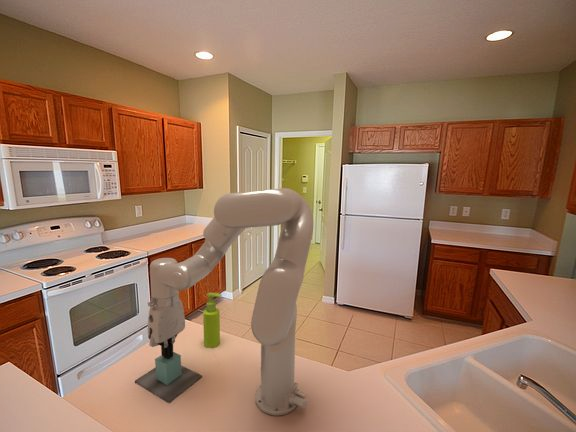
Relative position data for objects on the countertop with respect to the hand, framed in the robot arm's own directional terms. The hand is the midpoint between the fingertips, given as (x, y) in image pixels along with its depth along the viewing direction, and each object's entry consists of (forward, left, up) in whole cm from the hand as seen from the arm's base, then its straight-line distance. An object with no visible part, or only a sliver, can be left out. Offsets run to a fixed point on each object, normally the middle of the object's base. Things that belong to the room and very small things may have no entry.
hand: (167, 356), depth 84 cm
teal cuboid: (0, 0, -7) cm, 7 cm away
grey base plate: (0, 0, -8) cm, 8 cm away
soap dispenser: (+2, -21, -8) cm, 23 cm away
